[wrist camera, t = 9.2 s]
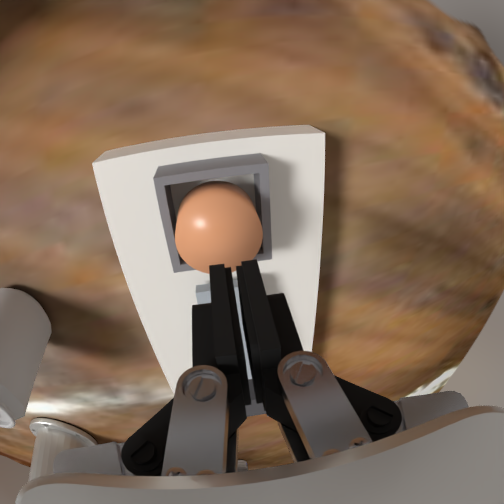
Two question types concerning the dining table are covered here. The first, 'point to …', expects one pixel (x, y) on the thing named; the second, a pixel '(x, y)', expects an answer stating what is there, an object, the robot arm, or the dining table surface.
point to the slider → (254, 403)
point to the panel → (166, 210)
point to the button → (217, 226)
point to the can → (19, 351)
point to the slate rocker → (205, 297)
